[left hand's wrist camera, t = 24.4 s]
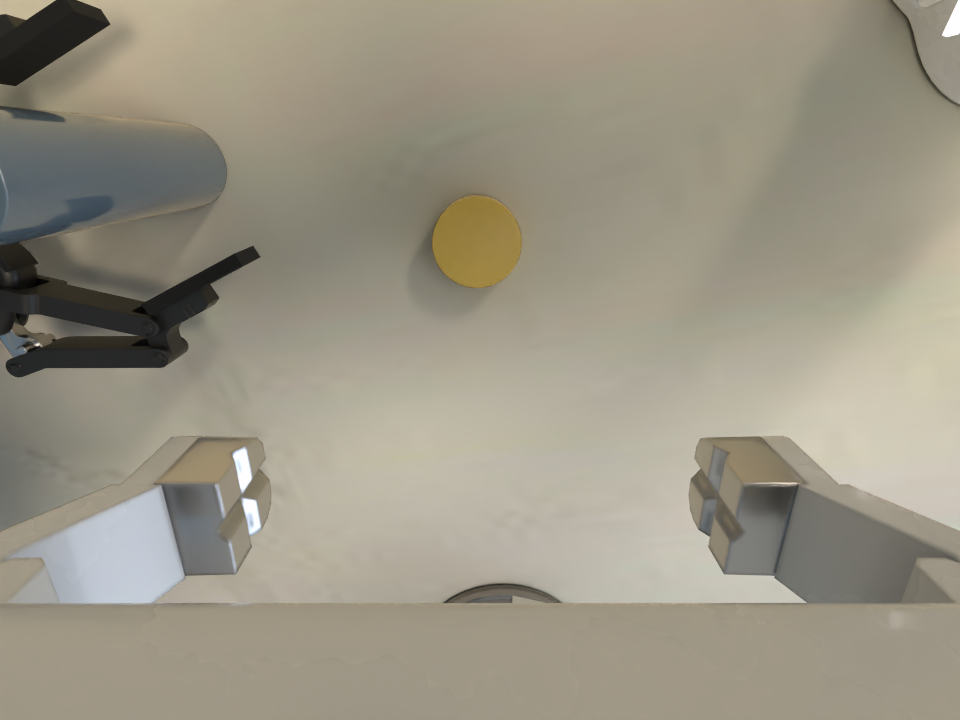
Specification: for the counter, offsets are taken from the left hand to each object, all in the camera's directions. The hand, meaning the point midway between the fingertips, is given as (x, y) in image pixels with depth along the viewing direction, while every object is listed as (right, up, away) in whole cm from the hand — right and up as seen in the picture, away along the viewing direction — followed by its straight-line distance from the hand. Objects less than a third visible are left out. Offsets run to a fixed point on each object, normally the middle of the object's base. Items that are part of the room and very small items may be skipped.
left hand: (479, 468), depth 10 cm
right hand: (-16, +14, +19) cm, 29 cm away
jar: (-19, +15, +25) cm, 35 cm away
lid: (0, +10, +26) cm, 28 cm away
